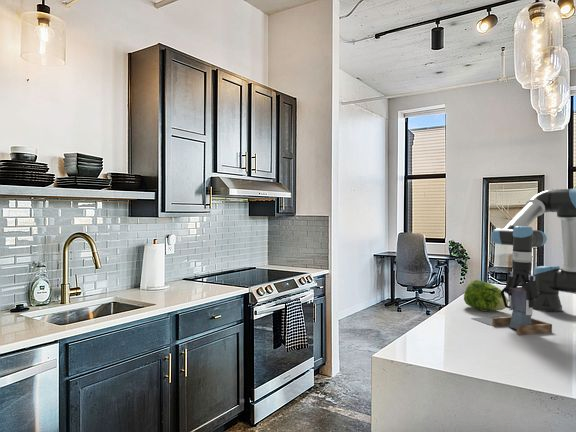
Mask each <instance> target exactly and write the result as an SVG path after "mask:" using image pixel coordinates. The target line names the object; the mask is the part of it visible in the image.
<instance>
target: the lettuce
mask: <svg viewBox="0 0 576 432" xmlns="http://www.w3.org/2000/svg"><path fill="white" fill-rule="evenodd" d="M501 291H502V289H500V288H499V287H497V286H496V285H494V284H491V283H490V282H489V283H488V282H487V281H483V280H479V279H475V280H471V282H470V283H468V285H467V286H466V288H465V291H464V293H463V300H464V302H465V304H466V305H468V306H469V307H470V308H472V309H475V310H479V311H483V312H484V311H485V312H495V311H496V312H497V311H502V310H505V309H506V307H505V305H504V302H503V298H502V295H501ZM505 298H506V303H507V305H508V306H509V301H508V300H509V298H508V297H507V296H506V295H505Z"/></svg>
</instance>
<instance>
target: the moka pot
mask: <svg viewBox="0 0 576 432" xmlns="http://www.w3.org/2000/svg"><path fill="white" fill-rule="evenodd" d="M505 291H508V292H512V305H513V310H512V312H511V316H510V317H511V321H510V325H508V326H509V328H512V329H513V330H517V326H523V325H532V324H531V318H532V317H533V314H532V315H526V300H527V299H528V297H527V294H526V293H527V292H526V291H525V288H524V285H523V284H522V283H521V287H519V286H518V287H517V288H509V287H506V286H505V287H504V288H503V289H501V295H502V298H503V302H504V305H505V307H506V308H507V309H509V308H511V306H509V304H508V305H507V303H506V298H505V296H506V295H505V294H506V293H505ZM538 294H539V292H538ZM506 308H505V309H506Z"/></svg>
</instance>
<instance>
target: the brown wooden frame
mask: <svg viewBox="0 0 576 432" xmlns="http://www.w3.org/2000/svg"><path fill="white" fill-rule="evenodd" d="M511 317H512V316H502V317H501V316H498V317H497V318H493V322H492V325H491V326H492V327H503V326H504V327H505V326H510V321H511ZM531 324H532V325H523V326H517V329H516V335H518V336H523V335H525V336H526V335H534V334H547V333H553V324H552V323H549V322H546V321H544V320H543V321H542V320H540V319H536V318H532V317H531Z"/></svg>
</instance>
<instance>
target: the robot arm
mask: <svg viewBox="0 0 576 432" xmlns="http://www.w3.org/2000/svg"><path fill="white" fill-rule="evenodd" d="M544 213H556V217H557V218H558V219H560V226H561V237H562V238H561V241H562V253H563V265H562V266H561V267H560V265H540V266H536V267H534V272H533V275H532V274H531V271H532V266H533V265H532V261H533V259H532V258H533V248H539V247H543V246H544V245H545V244H546V243H547V239H548V238H547V235H546V233H545V232H543V231H541V230H538V229H537V230H535V229H534V230H533V227H532V226H530V225H531V224H532V223H533V221H535V220H536V219H537V217H539V216H542V215H543V214H544ZM491 239H492V242H493V243H494V244H496V245H501V246H503V245H504V246H505V245H506V246H512V260H513V261H512V262H511V263H512V264H511V270H513V271H507V273H506V274H507V276H506V283H505V287H509V288H517V287H519V284H520V283H521V285H522V284H523V285H524V288H525V291H526V292H527V293H526V294H527V297H528V299H527V300H526V315H532V316H533V309H534V310H538V311H544V312H551V313H552V312H555V313H556V312H562V311H563V305H562V303H561V299H560V296H559V293H560V292H562V293H569V294H573V295H574V294H575V295H576V188H561V189H559V188H558V189H546V190H543V191H541V192H539V193H536V194H535V195H533V196H532V197H531V198H529V199H528V200H527V201H526V202H525V206H524V207H523V208H522V209H520V211H519V212H518V213H517V214H515V216H514V217H513V218H512V219H511V220H510V221H509V222H508V223H506V225H504V226H503V227H502V228H495V229H494V230H492V232H491ZM538 292H539V294H538ZM504 294H507V295H508V306H511V308H508V310H509V311H513V305H512V292H508V291H505V292H504Z"/></svg>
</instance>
